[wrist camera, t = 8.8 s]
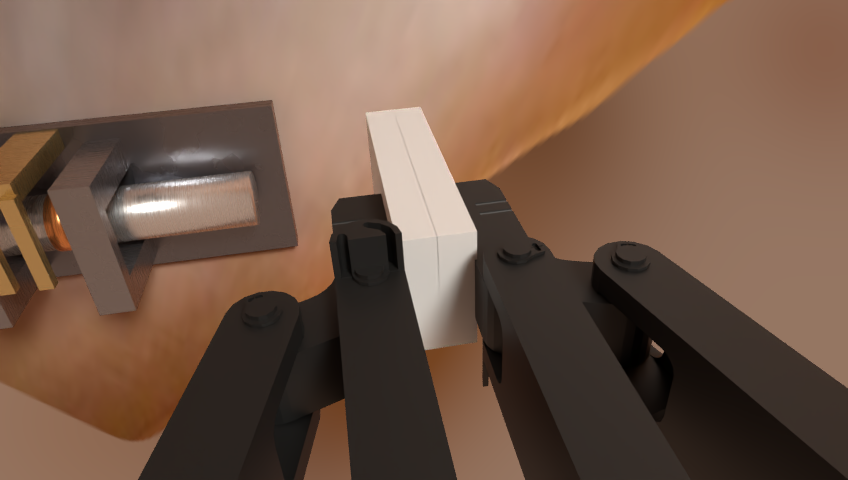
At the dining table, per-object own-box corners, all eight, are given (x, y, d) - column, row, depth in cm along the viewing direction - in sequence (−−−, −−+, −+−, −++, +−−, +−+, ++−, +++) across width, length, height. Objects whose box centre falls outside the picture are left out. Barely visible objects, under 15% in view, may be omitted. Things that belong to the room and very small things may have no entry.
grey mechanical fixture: (-81, 136, 43) (-161, 195, 35) (272, 100, 45) (266, 148, 38) (-8, 277, 49) (-62, 352, 42) (298, 238, 52) (297, 302, 44)
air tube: (-11, 242, 46) (-38, 275, 42) (-37, 191, 44) (-67, 221, 40) (261, 209, 48) (258, 238, 45) (250, 159, 46) (246, 185, 42)
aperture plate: (11, 133, 42) (-53, 195, 35) (60, 128, 43) (8, 188, 35) (50, 222, 46) (0, 295, 39) (95, 217, 47) (54, 288, 39)
